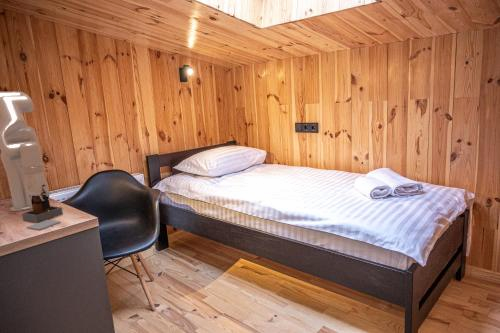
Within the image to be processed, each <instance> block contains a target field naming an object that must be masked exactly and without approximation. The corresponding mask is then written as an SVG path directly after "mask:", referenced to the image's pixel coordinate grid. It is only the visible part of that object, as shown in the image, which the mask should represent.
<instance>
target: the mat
mask: <svg viewBox="0 0 500 333" xmlns="http://www.w3.org/2000/svg"><path fill="white" fill-rule="evenodd" d="M61 223H62V222H61V221H59V220H52V219H48V220H45V221H43V222H40V223H33V224H32V225H29V226H26V229H28V230H34V231H42V230H45V229H48V228H51V227H53V226H56V225H60V224H61Z"/></svg>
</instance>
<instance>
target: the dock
mask: <svg viewBox="0 0 500 333" xmlns="http://www.w3.org/2000/svg"><path fill="white" fill-rule="evenodd" d="M63 214H64V212H63V208H62V207H60V206H55V205H54V206H53V205H50V210H48V211H47V212H44V213H41V214H38V215H34V212H33V209H32V210H30V211H26V212H23V213H21V217H22V221H23V222H27V223H33V224H37V223H40V222H43V221H46V220H52V219H53V218H57V217H60V216H63Z"/></svg>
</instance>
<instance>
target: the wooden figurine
mask: <svg viewBox="0 0 500 333" xmlns="http://www.w3.org/2000/svg"><path fill="white" fill-rule="evenodd" d="M42 194H44V193H42ZM43 197H44V195H43ZM33 201H34V202H35V203H34V204H33V206H32V208H31V209H32V210H33V212H34V215H38V214H41V213H44V212H47V211H48V210H50V208H47V209H44V210H43V209H42V205H41V201H42V200H41V198H40V196H33Z"/></svg>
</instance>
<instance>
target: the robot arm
mask: <svg viewBox="0 0 500 333" xmlns="http://www.w3.org/2000/svg"><path fill="white" fill-rule="evenodd" d="M34 106H35V105H34V102H33V99H32V98H31V97H30V96H29V95H28V94H26V93H25V92H23V91H0V160H1V162H2V165H3V167H4V170H5V173H6V177H7V178H6V179H7V183H8V187H9V191H10V196H11V199H12V201H11V203H12V205H13V206H11V207H9V208H10V211H11V212H20V211H26V210H27V211H28V210H31V209H32V206H33V204H34V203H35V202H34V201H33V196H40V198H41V200H42V201H41V205H42V209H43V210H44V209H47V208H50V206H51V204H50V195H51V192H50V190H49V186H48V181H47V178H46V175H45V169H44V165H43V154H42V149H41V147H40V146H41V145H40V143H39V140H38V136H37V133H36V131H35V129H34V128H33V127H32V126H28V125H26V124H27V122H26V119H25V117H24V115H23V113H31V112H33V111H34V108H35V107H34ZM42 193H43V194H42ZM43 195H44V197H43Z"/></svg>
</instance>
